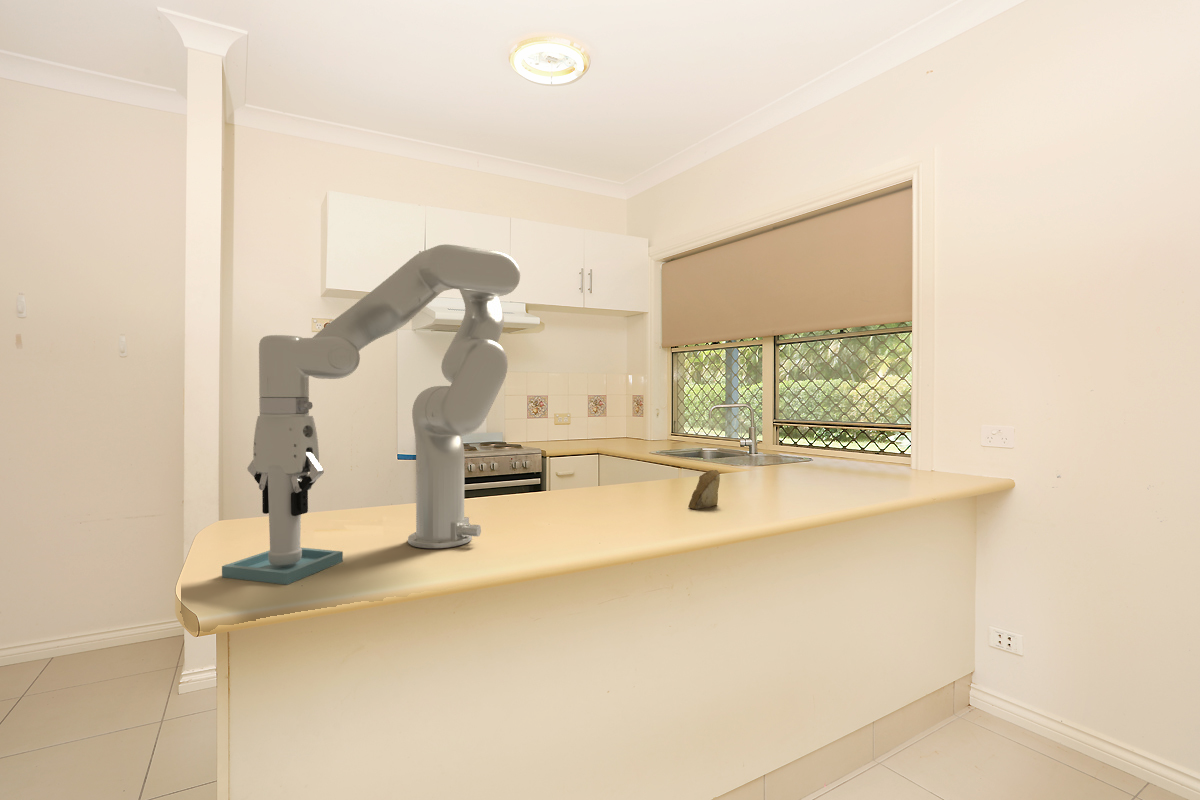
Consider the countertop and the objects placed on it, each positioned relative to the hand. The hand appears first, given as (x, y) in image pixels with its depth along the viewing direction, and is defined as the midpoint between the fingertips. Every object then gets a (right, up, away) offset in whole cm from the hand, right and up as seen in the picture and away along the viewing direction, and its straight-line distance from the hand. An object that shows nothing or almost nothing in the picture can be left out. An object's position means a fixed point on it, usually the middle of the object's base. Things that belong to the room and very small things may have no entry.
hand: (285, 512), depth 103 cm
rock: (+82, -9, +57) cm, 100 cm away
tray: (0, -10, 0) cm, 10 cm away
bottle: (0, -9, 0) cm, 9 cm away
